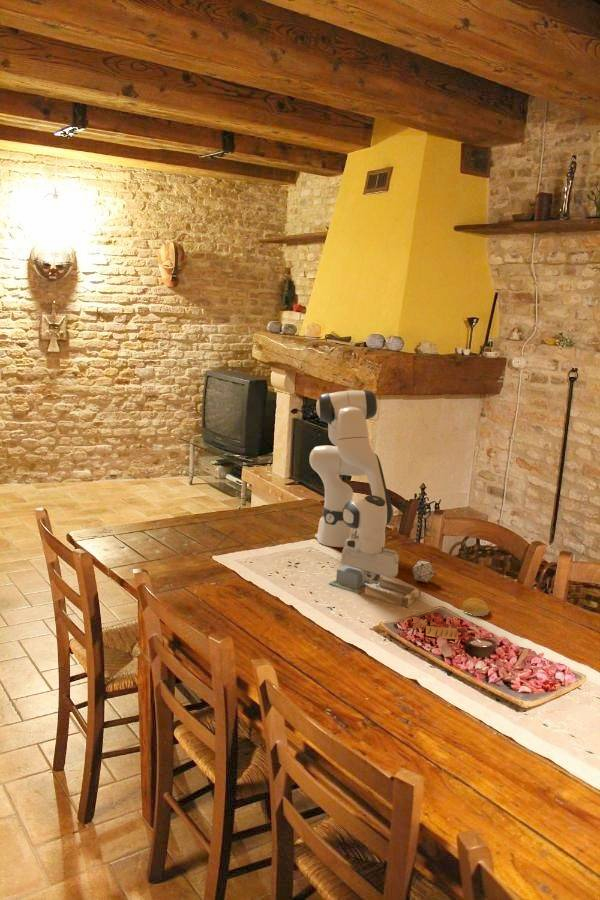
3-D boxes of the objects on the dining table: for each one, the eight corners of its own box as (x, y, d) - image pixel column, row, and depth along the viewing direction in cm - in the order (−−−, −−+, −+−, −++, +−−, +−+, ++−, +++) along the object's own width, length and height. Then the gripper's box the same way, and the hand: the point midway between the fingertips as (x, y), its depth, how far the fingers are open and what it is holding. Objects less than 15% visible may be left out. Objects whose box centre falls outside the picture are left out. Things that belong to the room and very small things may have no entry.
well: (357, 570, 266) (358, 565, 266) (380, 576, 261) (380, 571, 261) (350, 574, 262) (351, 569, 261) (373, 580, 257) (373, 575, 256)
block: (344, 578, 258) (345, 564, 257) (364, 584, 254) (365, 570, 253) (335, 582, 253) (337, 569, 252) (356, 589, 249) (357, 575, 248)
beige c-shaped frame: (380, 584, 254) (380, 577, 253) (420, 596, 246) (421, 589, 246) (364, 594, 244) (365, 587, 244) (405, 606, 237) (406, 599, 236)
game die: (425, 591, 261) (444, 570, 260) (420, 590, 253) (439, 569, 252) (407, 573, 265) (425, 553, 264) (401, 572, 257) (420, 551, 256)
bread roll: (463, 616, 233) (464, 604, 232) (461, 605, 242) (463, 593, 241) (489, 619, 232) (491, 607, 231) (487, 608, 241) (488, 596, 240)
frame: (347, 574, 262) (347, 573, 262) (377, 582, 255) (377, 581, 255) (328, 584, 251) (328, 583, 251) (359, 593, 245) (359, 592, 244)
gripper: (403, 549, 244) (399, 588, 247) (349, 535, 255) (346, 573, 258) (395, 553, 239) (391, 593, 242) (340, 539, 250) (337, 578, 252)
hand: (367, 583), depth 250 cm, fingers closed
